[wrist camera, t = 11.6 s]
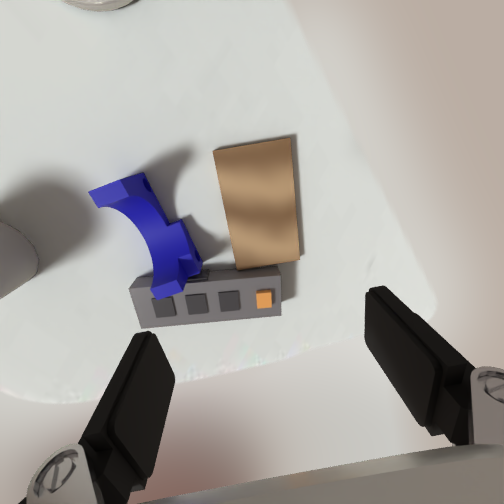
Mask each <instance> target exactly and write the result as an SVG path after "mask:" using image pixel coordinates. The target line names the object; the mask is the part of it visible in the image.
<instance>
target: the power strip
mask: <svg viewBox="0 0 504 504" xmlns="http://www.w3.org/2000/svg"><path fill="white" fill-rule="evenodd" d="M152 282H153V276H148V277H137V278H136V280H135V281H134V282H133V284H132V285H131V286H130V288H129V291H130V295H131V298H132V301H133V304H134V307H135V310H136V313H137V316H138V319H139V323H140V326H141V329H143V328H154V327H165V326H175V325H186V324H197V323H207V322H218V321H229V320H239V319H250V318H260V317H271V316H281V274H280V272H279V269H278V266H265V267H255V268H249V269H243V270H237V269H230V270H218V271H209V269H207V270H201V271H200V273H198V274H196V275H193V276H190V277H188V279H187V282H186V284H185V287H184V290H183V292H180V293H177V294H174V295H171V296H168V297H165V298H162V299H160V300H156V298H155V297H154V295H153V293H152V292H151V290H150V288H151V285H152Z"/></svg>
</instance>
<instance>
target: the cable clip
mask: <svg viewBox="0 0 504 504" xmlns="http://www.w3.org/2000/svg"><path fill="white" fill-rule="evenodd" d="M88 193H89V194H90V196H91V197H92V199H93V201H94V202H95V204H96V205H97V207H98V208H100V207H111V208H114V209H116V210H118V211H120V212H122V213H123V214H125V215H126V216H127V217H128V218H129V219H130V220H131V221H132V222H133V223H134V224H135V225H136V227H137V228H138V229H139V231H140V232H141V234H142V236H143V237H144V239H145V241H146V243H147V245H148V248H149V251H150V254H151V257H152V262H153V270H154V275H153V282H152V285H151V288H150V290H151V292H152V293H153V295H154V297H155V298H156V300H160V299H162V298H165V297H168V296H171V295H174V294H177V293H180V292H183V290H184V287H185V284H186V282H187V279H188V277H190V276H193V275H196V274H198V273H200V271H201V268H202V264H203V261H202V259H201V257H200V255H199V253H198V251H197V249H196V247H195V245H194V243H193V241H192V239H191V237H190V235H189V233H188V231H187V229H186V227H185V225H184V223H183V221H182V219H180V220H178V221H175V222H172V223H169V221H168V219H167V217H166V215H165V213H164V211H163V209H162V207H161V205H160V203H159V201H158V200H157V198H156V196H155V194H154V192H153V190H152V188H151V186H150V184H149V182H148V180H147V178H146V176H145V174H144V172H143V173H140V174H137V175H133V176H130V177H127V178H123V179H120V180H117V181H115V182H112V183H109V184H107V185H104V186H102V187H99V188H97V189H94V190H91V191H89V192H88Z"/></svg>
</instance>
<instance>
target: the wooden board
mask: <svg viewBox="0 0 504 504" xmlns="http://www.w3.org/2000/svg"><path fill="white" fill-rule="evenodd" d="M213 156H214V160H215V165H216V170H217V175H218V180H219V185H220V190H221V194H222V199H223V204H224V209H225V214H226V219H227V224H228V228H229V233H230V238H231V243H232V248H233V253H234V258H235V262H236V267H237V270H243V269H249V268H255V267H261V266H267V265H273V264H278V263H284V262H290V261H296V260H300V254H299V241H298V229H297V216H296V203H295V191H294V178H293V166H292V153H291V140H290V138H285V139H279V140H273V141H268V142H262V143H256V144H250V145H244V146H238V147H232V148H226V149H221V150H215V151H213Z"/></svg>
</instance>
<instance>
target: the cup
mask: <svg viewBox="0 0 504 504" xmlns="http://www.w3.org/2000/svg"><path fill="white" fill-rule="evenodd" d="M38 263H39V259H38V256H37V254H36V251H35V249H34V246H33V245H32V244H31V243H30V242H29V240H28V239H27V238H26V237H25V236H24V235H23V234H22V233H21V232H20V231H18V230H16V229H14V228H12V227H10V226H9V225H7V224H5V223H3V222H0V299H1V298H3V297H4V296H6V295H7V294H9V293H11V292H12V291H14V290H15V289H17V288H18V287H20V286H21V285H23V284H24V283H26V282H27V281H29V280H30V279H31V278H32V277H33V276H34V275H35V274H36V273H37V269H38Z"/></svg>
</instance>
